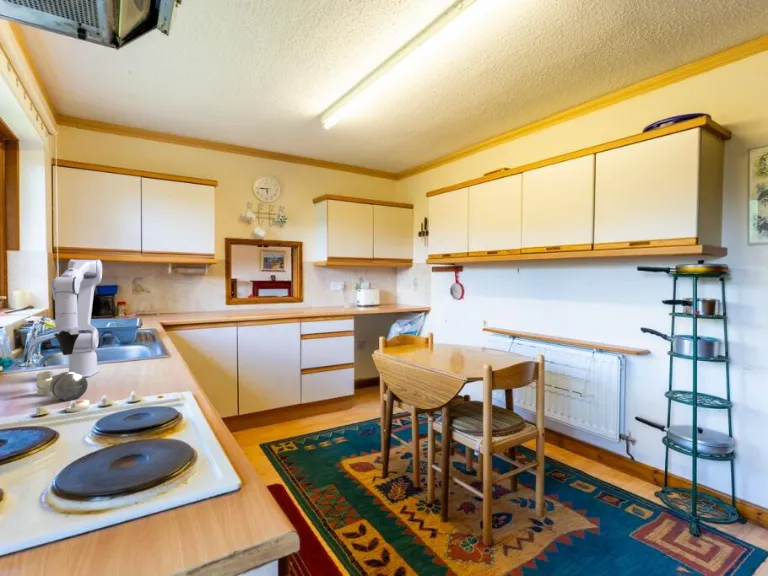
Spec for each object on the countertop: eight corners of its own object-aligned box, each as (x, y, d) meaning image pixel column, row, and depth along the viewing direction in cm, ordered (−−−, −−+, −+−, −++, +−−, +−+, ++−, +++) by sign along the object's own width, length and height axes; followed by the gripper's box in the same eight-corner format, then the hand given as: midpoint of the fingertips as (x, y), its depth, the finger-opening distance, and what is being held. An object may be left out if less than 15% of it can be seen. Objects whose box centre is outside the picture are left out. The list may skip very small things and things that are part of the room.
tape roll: (71, 407, 111) (71, 400, 110) (92, 405, 112) (92, 398, 112) (62, 412, 106) (62, 405, 106) (84, 411, 107) (84, 404, 107)
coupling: (50, 400, 116) (49, 374, 116) (81, 394, 123) (80, 369, 122) (56, 403, 113) (55, 376, 113) (87, 397, 120) (87, 371, 120)
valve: (28, 396, 121) (64, 398, 119) (28, 375, 121) (63, 375, 119) (49, 390, 127) (83, 391, 126) (49, 370, 127) (83, 370, 126)
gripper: (44, 313, 133) (45, 354, 133) (58, 315, 124) (59, 359, 125) (70, 311, 139) (71, 350, 139) (85, 313, 130) (86, 355, 131)
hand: (67, 354), depth 132 cm, fingers closed
